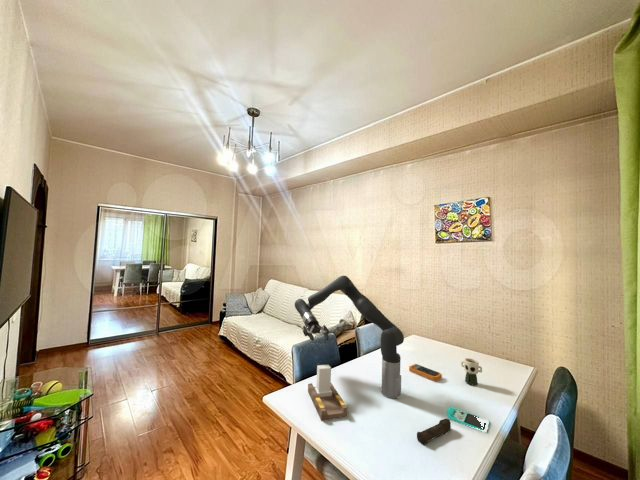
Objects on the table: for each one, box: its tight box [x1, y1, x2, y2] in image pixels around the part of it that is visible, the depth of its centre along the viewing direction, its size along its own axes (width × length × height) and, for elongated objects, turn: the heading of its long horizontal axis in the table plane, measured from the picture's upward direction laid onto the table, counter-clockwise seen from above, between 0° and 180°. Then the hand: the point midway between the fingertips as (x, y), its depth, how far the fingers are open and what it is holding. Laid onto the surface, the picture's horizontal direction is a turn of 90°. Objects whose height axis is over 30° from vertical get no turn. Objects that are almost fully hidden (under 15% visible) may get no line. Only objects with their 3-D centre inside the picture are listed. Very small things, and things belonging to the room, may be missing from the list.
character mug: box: [460, 357, 483, 386], centre depth 150 cm, size 11×7×13 cm, turn 43°
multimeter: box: [408, 363, 443, 383], centre depth 159 cm, size 9×18×3 cm, turn 39°
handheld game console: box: [446, 406, 486, 430], centre depth 116 cm, size 10×16×1 cm, turn 51°
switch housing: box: [307, 382, 349, 422], centre depth 124 cm, size 24×12×4 cm, turn 16°
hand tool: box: [416, 418, 452, 446], centre depth 104 cm, size 19×4×5 cm, turn 118°
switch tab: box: [314, 364, 332, 397], centre depth 130 cm, size 6×7×13 cm
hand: (320, 339), depth 140 cm, fingers open, 8 cm apart
